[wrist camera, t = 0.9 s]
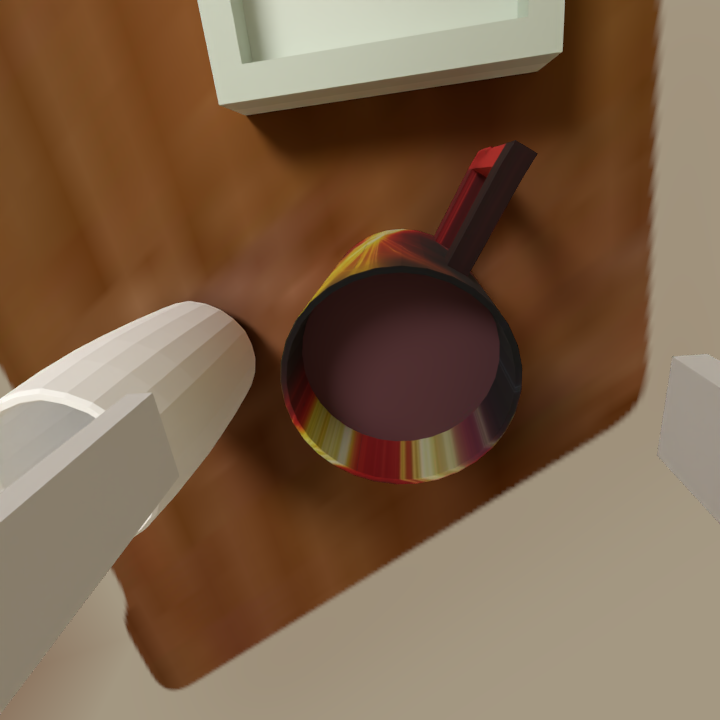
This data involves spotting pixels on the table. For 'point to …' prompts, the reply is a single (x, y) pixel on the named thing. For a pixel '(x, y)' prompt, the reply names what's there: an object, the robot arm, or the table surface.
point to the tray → (369, 47)
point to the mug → (411, 344)
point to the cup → (136, 388)
